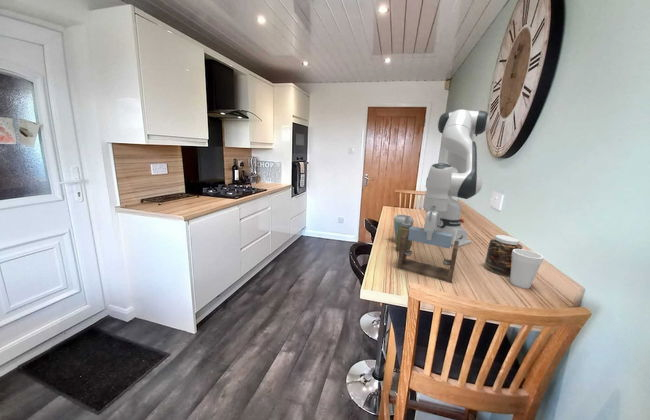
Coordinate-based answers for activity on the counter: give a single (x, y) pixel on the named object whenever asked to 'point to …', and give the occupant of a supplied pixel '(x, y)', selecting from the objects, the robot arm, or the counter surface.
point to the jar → (501, 254)
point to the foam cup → (524, 267)
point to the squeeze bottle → (404, 227)
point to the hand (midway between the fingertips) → (429, 237)
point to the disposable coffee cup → (400, 222)
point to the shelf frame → (423, 267)
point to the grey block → (437, 237)
